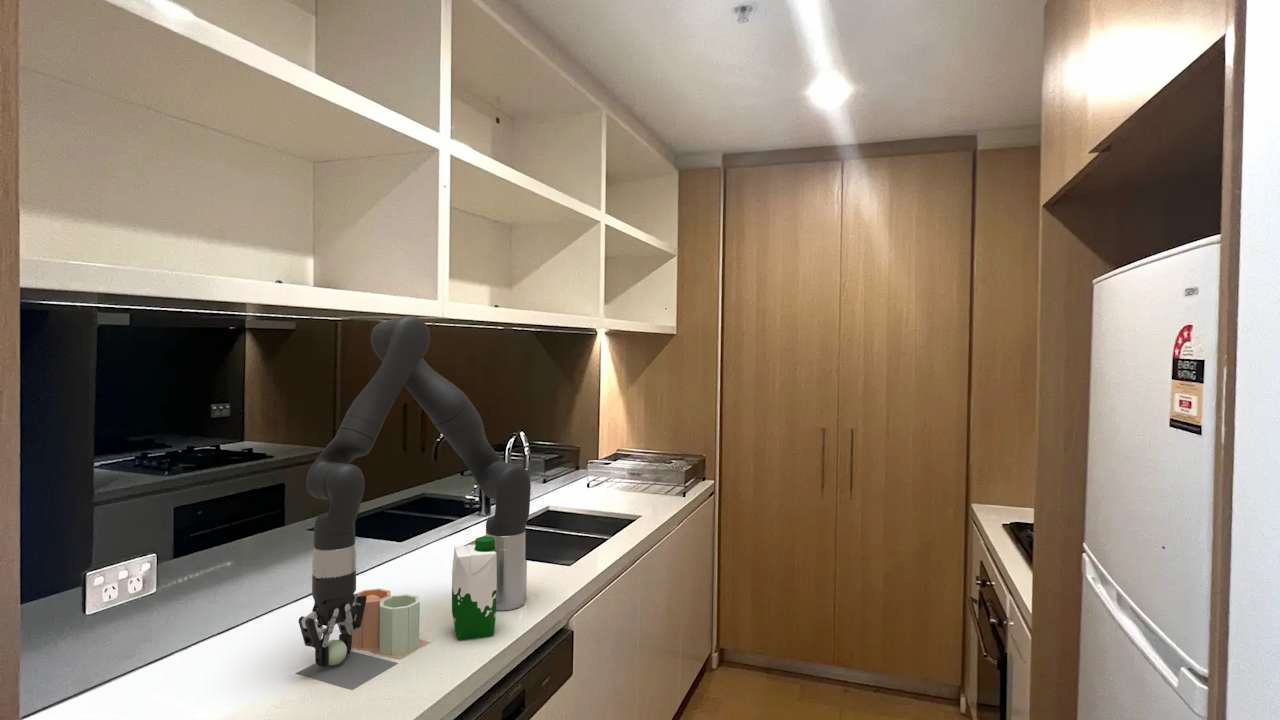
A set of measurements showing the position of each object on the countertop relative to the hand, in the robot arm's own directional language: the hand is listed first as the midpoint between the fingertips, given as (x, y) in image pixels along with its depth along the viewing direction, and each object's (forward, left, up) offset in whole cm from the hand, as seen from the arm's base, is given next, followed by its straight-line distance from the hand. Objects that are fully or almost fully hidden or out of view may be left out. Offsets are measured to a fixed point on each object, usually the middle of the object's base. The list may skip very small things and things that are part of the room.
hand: (333, 659), depth 124 cm
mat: (0, +4, -1) cm, 4 cm away
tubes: (-11, +2, -1) cm, 11 cm away
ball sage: (0, 0, -1) cm, 1 cm away
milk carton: (-23, +15, -2) cm, 27 cm away
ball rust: (-10, -1, +4) cm, 11 cm away
